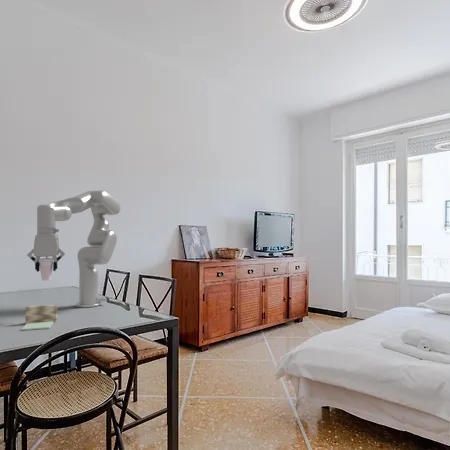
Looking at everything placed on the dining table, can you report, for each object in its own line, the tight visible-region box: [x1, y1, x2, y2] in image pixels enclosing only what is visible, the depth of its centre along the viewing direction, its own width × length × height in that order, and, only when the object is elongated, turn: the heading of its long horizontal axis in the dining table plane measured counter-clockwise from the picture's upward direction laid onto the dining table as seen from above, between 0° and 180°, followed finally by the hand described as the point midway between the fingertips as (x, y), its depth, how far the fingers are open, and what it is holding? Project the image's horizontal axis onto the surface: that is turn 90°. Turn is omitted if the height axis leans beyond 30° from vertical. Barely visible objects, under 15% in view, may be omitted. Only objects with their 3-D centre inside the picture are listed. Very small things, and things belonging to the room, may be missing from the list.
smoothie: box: [38, 256, 54, 281], centre depth 162 cm, size 6×6×14 cm
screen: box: [24, 304, 58, 325], centre depth 154 cm, size 12×3×7 cm, turn 108°
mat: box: [20, 322, 54, 332], centre depth 146 cm, size 10×10×1 cm
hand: (46, 270), depth 162 cm, fingers closed on smoothie, 6 cm apart
